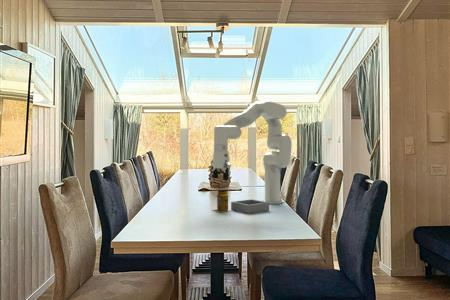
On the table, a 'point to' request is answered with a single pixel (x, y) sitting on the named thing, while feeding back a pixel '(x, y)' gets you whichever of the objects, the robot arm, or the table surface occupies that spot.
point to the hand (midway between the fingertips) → (220, 179)
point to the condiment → (222, 201)
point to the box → (250, 206)
